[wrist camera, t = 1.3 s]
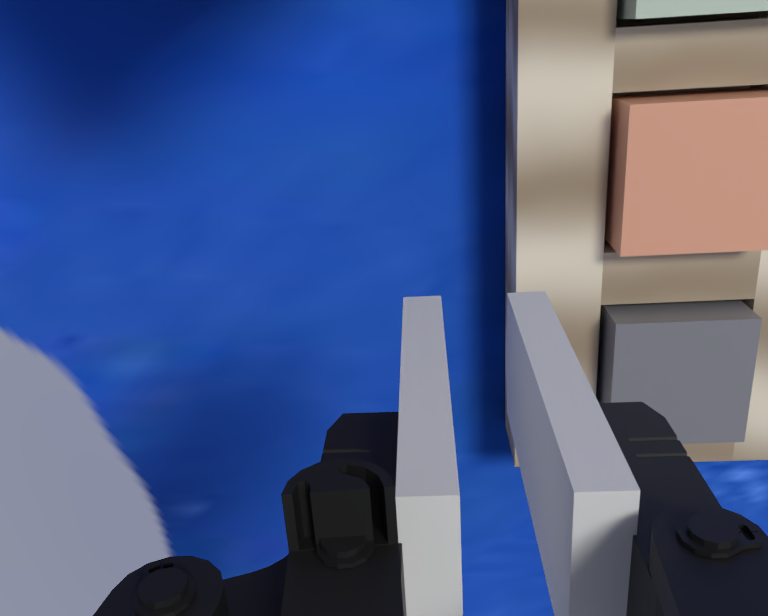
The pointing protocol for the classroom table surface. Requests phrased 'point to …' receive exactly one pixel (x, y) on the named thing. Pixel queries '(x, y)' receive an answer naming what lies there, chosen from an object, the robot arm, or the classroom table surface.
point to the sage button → (684, 7)
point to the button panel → (590, 171)
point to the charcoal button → (682, 364)
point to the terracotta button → (688, 173)
